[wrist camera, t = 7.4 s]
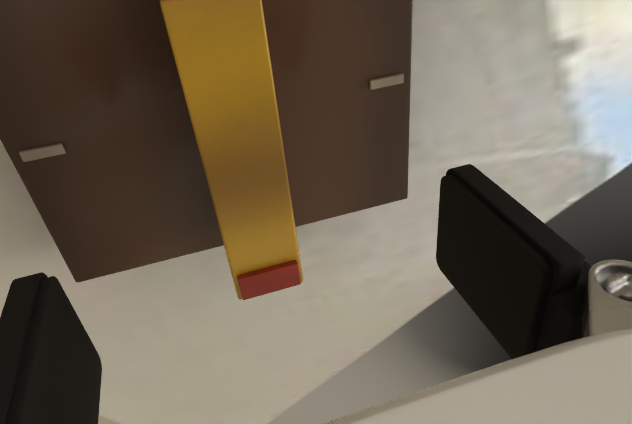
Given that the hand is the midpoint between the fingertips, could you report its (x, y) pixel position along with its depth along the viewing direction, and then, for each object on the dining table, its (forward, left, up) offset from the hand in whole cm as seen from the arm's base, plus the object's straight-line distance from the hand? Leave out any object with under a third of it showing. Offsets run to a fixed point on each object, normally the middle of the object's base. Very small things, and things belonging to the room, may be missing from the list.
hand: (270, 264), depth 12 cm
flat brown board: (0, 0, -11) cm, 11 cm away
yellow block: (0, 0, -8) cm, 8 cm away
